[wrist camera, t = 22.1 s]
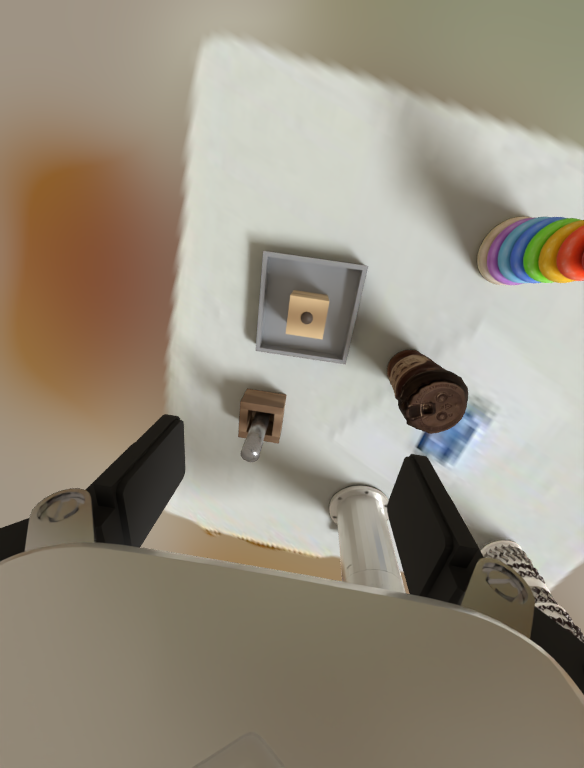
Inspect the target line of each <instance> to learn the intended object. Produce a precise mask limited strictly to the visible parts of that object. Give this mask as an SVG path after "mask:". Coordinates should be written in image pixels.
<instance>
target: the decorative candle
mask: <svg viewBox="0 0 584 768" xmlns="http://www.w3.org/2000/svg"><path fill="white" fill-rule="evenodd" d="M481 553H482V555H483V556H484V558H485V557H486V558H493V559H496V560H499V561H501V562H503V563H505V564H506V565H508V566H510V567H511V568H512V569H513V570H515V571H516V572H517V573H518V574H519V575H520V576H521V577H522V578H523V579H524V580H525V581H526V583H527V584H528V585H529V587H530V588H531V590H532V593H533V595H534V600H535V606H536V607H537V608H538V609H540V610H541V611H542V612H544V613H545V614H546V615H548V616H549V617H550V618H552V619H553V620H554V621H555V622H557V623H558V624H559V625H561V626H562V627H563V628H565V629H566V630H567V631H569V632H570V633H571V634H573V635H574V636H575V637H577V638H578V639H579V640H581V641H582V642H584V636H583V634H582V633H581V630H580V628H579V627H577V626H575V625H574V623H573V622H572V619H571V618H570V617H569V614H568V613H567V612H566V611H565V609H563V608H562V607H561V606H560V605H558V604H557V603H556V601H555V600H554V599H553V597H552V596H551V593H550V591H549V589H548V588H547V586H546V585H545V582H544V580H543V578H542V577H541V576H539V573H538V572H537V569H536V568H533V564H532V562H531V560H530V559H529V558H527V556H526V553H525V552H524V551H522V549H521V547H520V546H519V545H518V544H517V543H516V542H512V541H509V540H500V541H495V542H492V543H490V544H488V545H486V546H485V547H484V548H483V549H482V550H481ZM573 628H574V629H575V630H574V629H573Z"/></svg>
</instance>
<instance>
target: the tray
mask: <svg viewBox="0 0 584 768" xmlns="http://www.w3.org/2000/svg"><path fill="white" fill-rule="evenodd" d="M367 269H368V266H365V265H359V264H352V263H345V262H338V261H331V260H324V259H317V258H310V257H303V256H296V255H289V254H282V253H276V252H269V251H263V261H262V274H261V287H260V300H259V313H258V326H257V339H256V351H260V352H267V353H273V354H280V355H287V356H293V357H300V358H306V359H313V360H320V361H326V362H333V363H340V364H346V360H347V356H348V352H349V347H350V343H351V339H352V334H353V330H354V326H355V321H356V317H357V313H358V308H359V304H360V299H361V295H362V291H363V286H364V282H365V278H366V273H367ZM293 290H298V291H304V292H311V293H318V294H324V295H328V298H329V307H328V312H327V318H326V323H325V328H324V334H323V339H316V338H309V337H303V336H296V335H290V334H286V326H287V318H288V310H289V302H290V295H291V294H292V292H293Z"/></svg>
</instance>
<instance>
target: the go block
mask: <svg viewBox="0 0 584 768" xmlns="http://www.w3.org/2000/svg"><path fill="white" fill-rule="evenodd" d="M285 401H286V395H285V394H278V393H272V392H266V391H259V390H253V389H247V390H246V392H245V394H244V396H243V398H242V399H241V401H240V416H239V433H238V437H241V438H246V437H247V435H248V432H249V430H250V427H251V424H252V422H253V419H254V416H255V414H256V411H259V412H265V413H271V416H270V419H269V423H268V427H267V430H266V434H265V437H264V441H267V442H273V443H279V439H280V434H281V429H282V423H283V416H284V408H285Z"/></svg>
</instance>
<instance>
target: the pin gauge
mask: <svg viewBox="0 0 584 768" xmlns="http://www.w3.org/2000/svg"><path fill="white" fill-rule="evenodd" d="M270 416H271V413H265V412H259V411H256V414H255V416H254V419H253V422H252V424H251V427H250V430H249V432H248V435H247V437H246V440H245V443H244V445H243V448H242V450H241V457H242V458H243V459H244V460H246V461H248V462H254V461H256V460H257V459H258V458H259V455H260V451H261V448H262V444H263V441H264V437H265V434H266V430H267V427H268V423H269V419H270Z"/></svg>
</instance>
